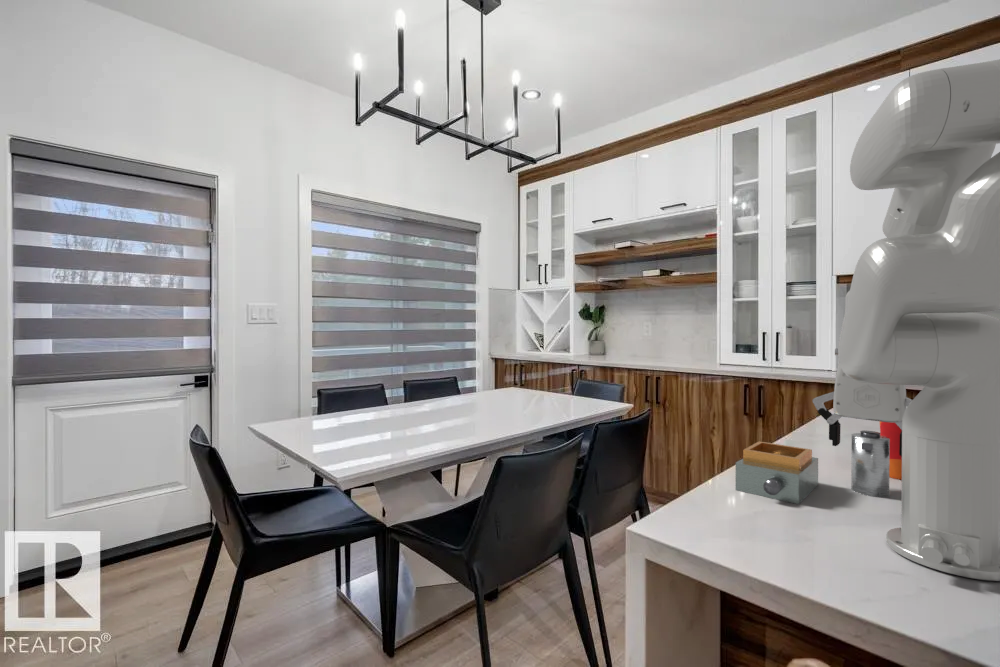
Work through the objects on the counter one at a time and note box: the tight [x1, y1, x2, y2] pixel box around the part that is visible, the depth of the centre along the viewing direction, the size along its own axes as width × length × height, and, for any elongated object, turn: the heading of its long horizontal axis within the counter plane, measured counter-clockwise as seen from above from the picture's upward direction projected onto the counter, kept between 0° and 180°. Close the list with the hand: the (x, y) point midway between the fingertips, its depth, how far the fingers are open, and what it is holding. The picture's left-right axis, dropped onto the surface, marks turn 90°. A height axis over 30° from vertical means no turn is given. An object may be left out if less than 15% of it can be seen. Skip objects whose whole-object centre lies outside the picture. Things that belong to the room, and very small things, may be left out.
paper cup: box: [878, 406, 907, 481], centre depth 93 cm, size 8×8×14 cm
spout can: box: [850, 430, 890, 498], centre depth 84 cm, size 7×5×11 cm
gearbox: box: [735, 441, 819, 505], centre depth 87 cm, size 16×10×7 cm, turn 135°
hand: (868, 449), depth 86 cm, fingers open, 9 cm apart
